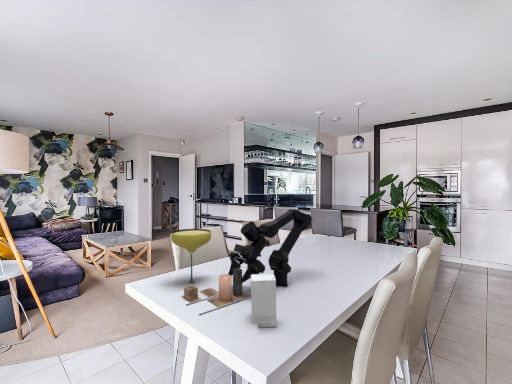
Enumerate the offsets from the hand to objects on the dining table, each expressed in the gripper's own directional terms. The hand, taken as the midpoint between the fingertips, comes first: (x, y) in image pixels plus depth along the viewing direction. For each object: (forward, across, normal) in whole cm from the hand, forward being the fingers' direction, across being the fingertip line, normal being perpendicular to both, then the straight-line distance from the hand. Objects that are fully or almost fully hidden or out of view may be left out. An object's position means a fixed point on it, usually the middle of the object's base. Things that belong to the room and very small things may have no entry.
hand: (234, 279), depth 106 cm
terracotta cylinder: (+8, 0, +2) cm, 8 cm away
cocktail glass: (+10, -25, +2) cm, 27 cm away
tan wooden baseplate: (+7, 0, +4) cm, 8 cm away
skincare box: (+8, +21, +4) cm, 23 cm away
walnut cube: (+15, -10, -5) cm, 19 cm away
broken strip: (+13, -10, -1) cm, 16 cm away
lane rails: (+10, 0, +1) cm, 11 cm away
